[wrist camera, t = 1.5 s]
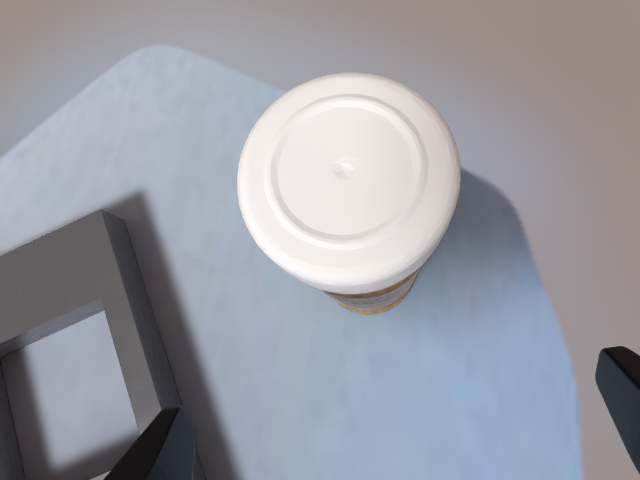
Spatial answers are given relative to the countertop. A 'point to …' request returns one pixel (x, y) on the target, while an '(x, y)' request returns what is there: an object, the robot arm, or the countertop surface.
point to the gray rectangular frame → (84, 315)
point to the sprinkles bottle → (350, 186)
